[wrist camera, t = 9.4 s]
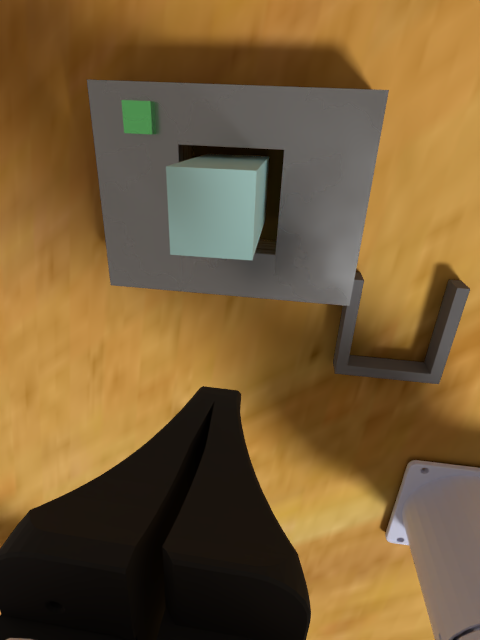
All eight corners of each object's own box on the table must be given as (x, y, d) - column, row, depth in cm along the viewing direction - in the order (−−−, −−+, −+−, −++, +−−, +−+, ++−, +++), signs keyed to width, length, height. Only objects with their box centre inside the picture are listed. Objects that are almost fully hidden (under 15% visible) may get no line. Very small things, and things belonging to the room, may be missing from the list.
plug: (269, 156, 19) (256, 170, 13) (265, 219, 20) (252, 260, 14) (208, 153, 19) (165, 166, 13) (208, 215, 20) (170, 254, 14)
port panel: (376, 95, 17) (391, 88, 14) (343, 286, 21) (350, 310, 18) (113, 85, 18) (80, 78, 16) (130, 268, 22) (106, 288, 20)
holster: (460, 280, 20) (470, 289, 19) (432, 372, 23) (439, 384, 22) (348, 271, 21) (351, 279, 20) (333, 362, 23) (334, 373, 22)
